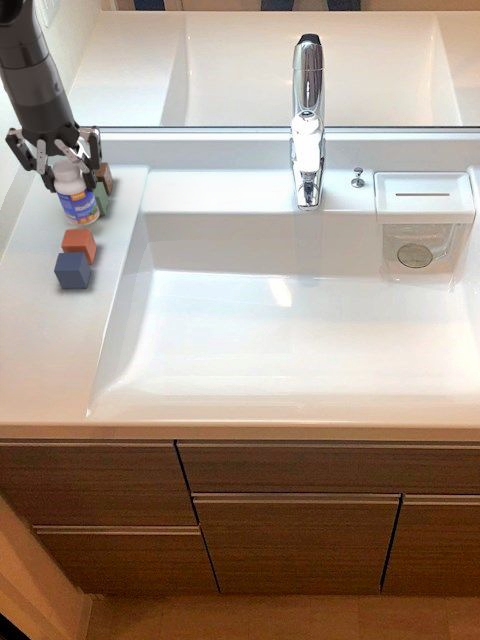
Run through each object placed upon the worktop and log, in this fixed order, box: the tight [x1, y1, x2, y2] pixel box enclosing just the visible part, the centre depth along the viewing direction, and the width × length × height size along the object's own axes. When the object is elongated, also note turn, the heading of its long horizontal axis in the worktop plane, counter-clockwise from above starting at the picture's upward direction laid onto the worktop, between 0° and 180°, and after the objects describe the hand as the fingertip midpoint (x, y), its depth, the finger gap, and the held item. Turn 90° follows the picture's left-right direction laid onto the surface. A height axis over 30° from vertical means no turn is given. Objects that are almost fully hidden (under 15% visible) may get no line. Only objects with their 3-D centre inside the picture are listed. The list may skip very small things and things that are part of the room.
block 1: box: [60, 228, 98, 265], centre depth 104 cm, size 4×4×4 cm
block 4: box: [93, 182, 109, 217], centre depth 110 cm, size 4×4×4 cm
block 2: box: [53, 252, 92, 290], centre depth 101 cm, size 4×4×4 cm
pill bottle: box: [51, 158, 100, 227], centre depth 102 cm, size 5×5×10 cm
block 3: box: [94, 161, 114, 196], centre depth 114 cm, size 4×4×4 cm
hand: (73, 189), depth 102 cm, fingers closed on pill bottle, 5 cm apart
